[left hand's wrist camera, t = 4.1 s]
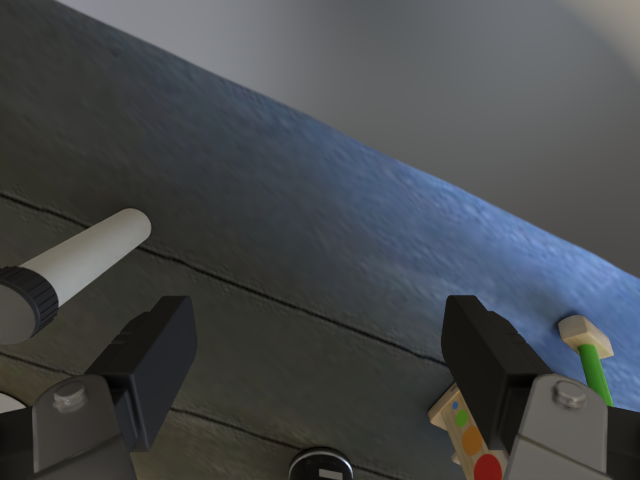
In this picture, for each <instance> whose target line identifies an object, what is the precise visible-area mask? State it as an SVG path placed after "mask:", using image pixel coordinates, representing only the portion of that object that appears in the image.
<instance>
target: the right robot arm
mask: <svg viewBox="0 0 640 480" xmlns="http://www.w3.org/2000/svg"><path fill="white" fill-rule="evenodd" d="M22 408H26V406H24V405H23V404H21V403H20V402H18V401H17V400H15V399H13V398H11V397H9V396H7V395H4V394H2V393H0V413H4V412H8V411H13V410H17V409H22Z"/></svg>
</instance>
